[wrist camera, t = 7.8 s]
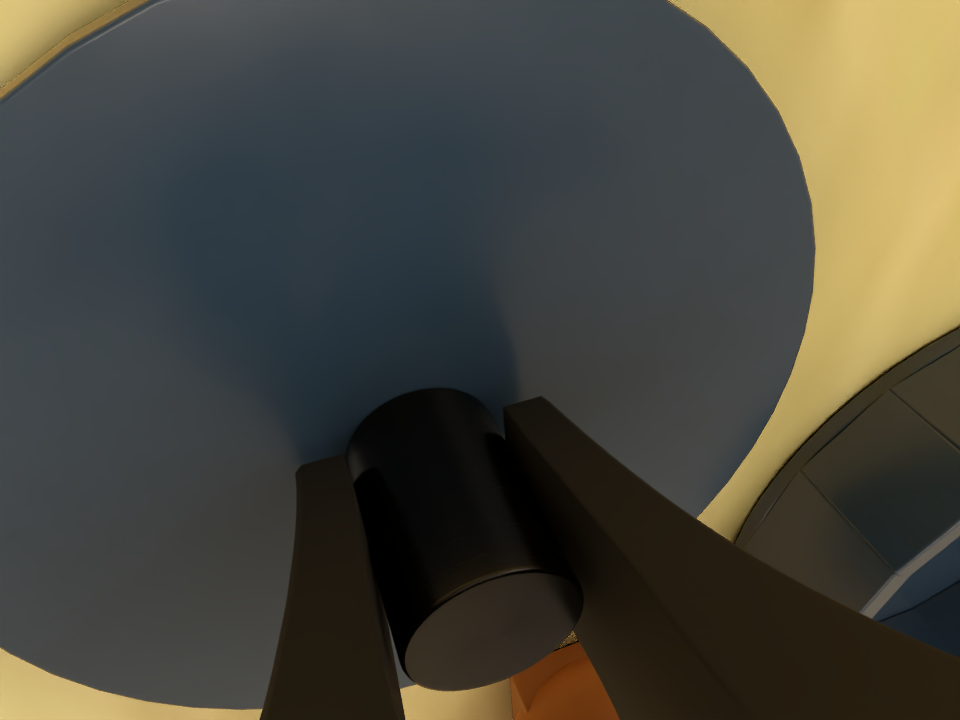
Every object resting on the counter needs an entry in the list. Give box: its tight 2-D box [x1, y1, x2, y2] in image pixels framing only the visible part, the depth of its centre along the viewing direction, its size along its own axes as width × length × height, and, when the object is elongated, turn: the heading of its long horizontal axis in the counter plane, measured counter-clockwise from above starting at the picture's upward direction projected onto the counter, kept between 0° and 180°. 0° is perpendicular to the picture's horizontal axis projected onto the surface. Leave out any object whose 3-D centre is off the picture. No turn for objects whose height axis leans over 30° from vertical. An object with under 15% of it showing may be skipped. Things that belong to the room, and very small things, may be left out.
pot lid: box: [0, 0, 815, 710], centre depth 11 cm, size 14×14×4 cm
